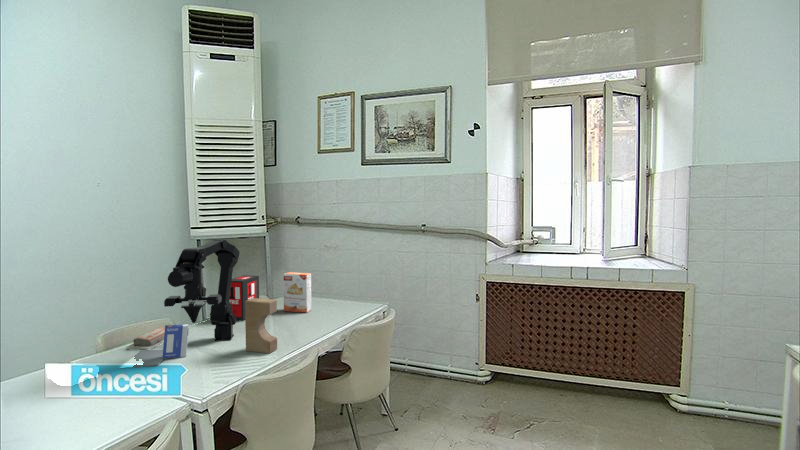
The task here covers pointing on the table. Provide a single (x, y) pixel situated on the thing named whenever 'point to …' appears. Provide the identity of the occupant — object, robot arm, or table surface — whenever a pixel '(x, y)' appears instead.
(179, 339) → the walkman
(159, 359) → the mat
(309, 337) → the table surface
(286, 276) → the cracker box
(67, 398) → the table surface
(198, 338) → the table surface
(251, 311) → the decorative block
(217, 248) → the robot arm
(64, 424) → the table surface
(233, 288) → the cleaning product box
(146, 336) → the packaged product
